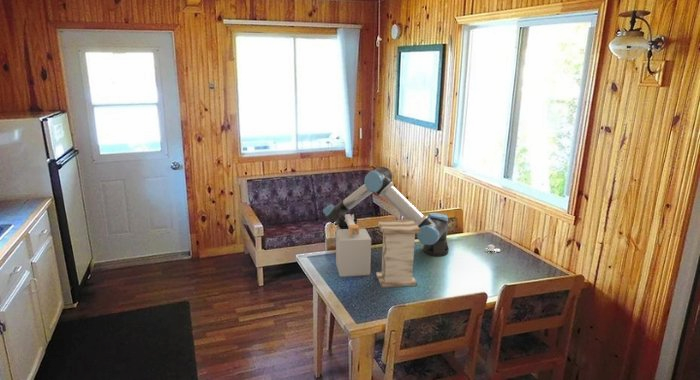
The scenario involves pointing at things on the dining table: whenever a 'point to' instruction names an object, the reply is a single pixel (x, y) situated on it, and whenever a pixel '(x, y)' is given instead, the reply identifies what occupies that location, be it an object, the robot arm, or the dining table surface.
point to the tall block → (353, 253)
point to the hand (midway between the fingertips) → (350, 217)
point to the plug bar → (352, 226)
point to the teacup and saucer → (491, 248)
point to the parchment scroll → (397, 253)
